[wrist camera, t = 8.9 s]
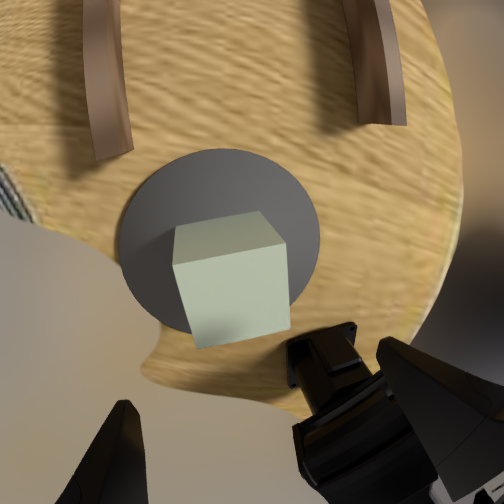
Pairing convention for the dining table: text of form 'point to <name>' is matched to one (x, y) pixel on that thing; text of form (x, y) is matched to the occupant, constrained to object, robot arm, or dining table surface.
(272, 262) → the block
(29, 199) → the dining table surface
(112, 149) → the bay
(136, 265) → the coaster
